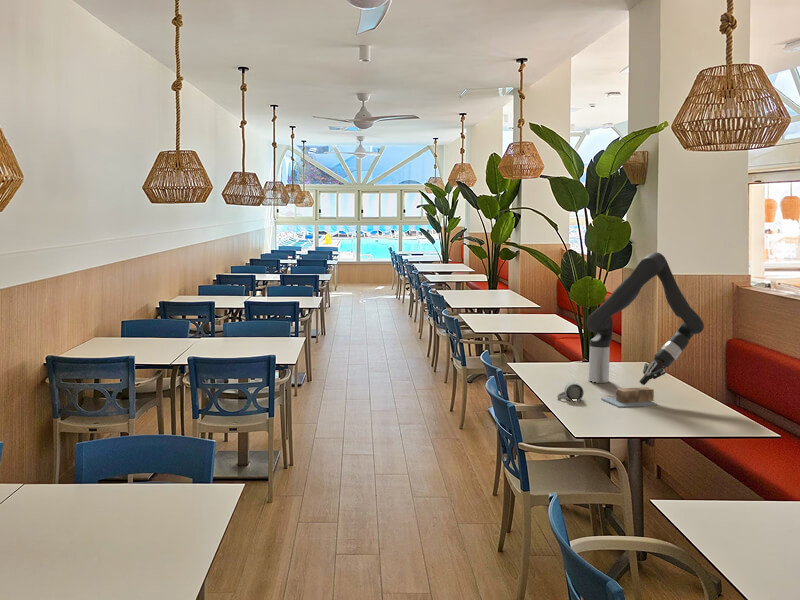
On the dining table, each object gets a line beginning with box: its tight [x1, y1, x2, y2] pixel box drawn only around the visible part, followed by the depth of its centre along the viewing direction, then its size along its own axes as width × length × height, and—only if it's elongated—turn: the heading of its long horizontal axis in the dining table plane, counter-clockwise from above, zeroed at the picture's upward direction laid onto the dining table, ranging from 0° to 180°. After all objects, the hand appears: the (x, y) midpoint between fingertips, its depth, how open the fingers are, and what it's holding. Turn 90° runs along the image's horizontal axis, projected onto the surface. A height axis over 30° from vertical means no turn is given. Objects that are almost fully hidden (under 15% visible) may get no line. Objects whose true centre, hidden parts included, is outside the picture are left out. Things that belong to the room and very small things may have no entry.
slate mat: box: [600, 396, 658, 409], centre depth 307 cm, size 18×14×1 cm
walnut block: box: [615, 386, 655, 403], centre depth 307 cm, size 5×5×15 cm
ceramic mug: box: [556, 381, 585, 402], centre depth 311 cm, size 11×8×8 cm
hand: (641, 383), depth 307 cm, fingers closed
